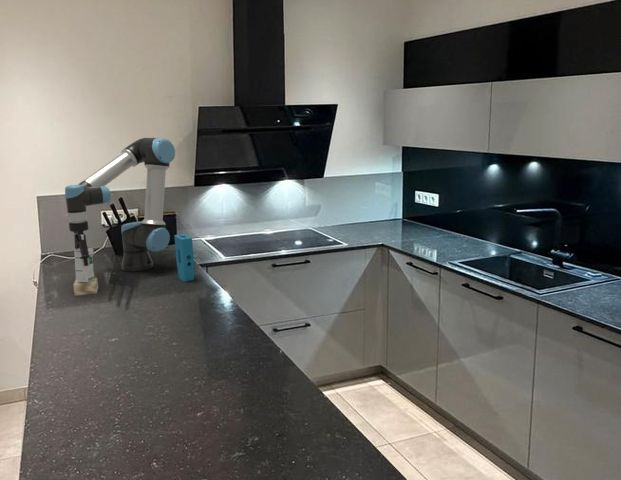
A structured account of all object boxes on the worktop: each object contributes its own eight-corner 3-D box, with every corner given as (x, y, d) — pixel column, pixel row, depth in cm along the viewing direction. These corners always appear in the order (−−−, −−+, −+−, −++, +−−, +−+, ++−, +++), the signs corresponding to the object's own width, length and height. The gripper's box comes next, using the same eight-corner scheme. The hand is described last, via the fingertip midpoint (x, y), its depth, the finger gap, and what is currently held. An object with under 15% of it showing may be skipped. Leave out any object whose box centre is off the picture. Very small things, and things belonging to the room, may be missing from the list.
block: (177, 276, 272) (173, 235, 268) (187, 274, 275) (184, 233, 270) (185, 282, 262) (181, 239, 258) (195, 280, 265) (192, 238, 260)
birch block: (98, 288, 259) (97, 277, 258) (96, 294, 250) (95, 283, 249) (76, 290, 256) (75, 279, 255) (74, 296, 248) (73, 285, 247)
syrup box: (87, 282, 249) (86, 249, 246) (75, 281, 250) (73, 248, 248) (95, 279, 254) (93, 247, 252) (83, 278, 256) (81, 246, 253)
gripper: (64, 218, 255) (70, 264, 260) (73, 227, 234) (79, 277, 239) (82, 216, 259) (87, 262, 263) (92, 224, 238) (98, 274, 242)
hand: (83, 269), depth 251 cm, fingers open, 13 cm apart
